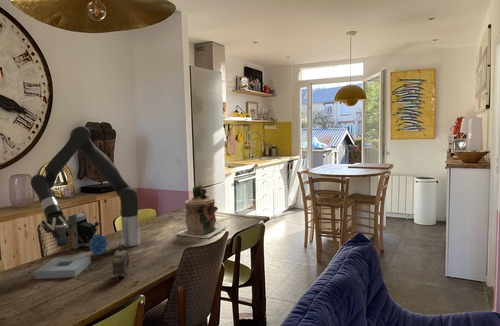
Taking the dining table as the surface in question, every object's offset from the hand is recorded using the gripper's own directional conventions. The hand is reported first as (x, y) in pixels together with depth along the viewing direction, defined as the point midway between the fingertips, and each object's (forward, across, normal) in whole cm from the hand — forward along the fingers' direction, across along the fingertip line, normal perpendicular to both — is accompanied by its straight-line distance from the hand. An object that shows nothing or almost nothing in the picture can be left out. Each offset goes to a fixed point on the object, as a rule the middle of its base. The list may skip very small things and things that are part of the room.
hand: (63, 236), depth 172 cm
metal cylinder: (+2, 0, +4) cm, 5 cm away
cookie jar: (+12, +83, +12) cm, 85 cm away
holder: (+11, 0, +13) cm, 17 cm away
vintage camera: (-10, +25, +34) cm, 43 cm away
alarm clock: (+32, +14, -8) cm, 36 cm away
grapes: (+4, +22, +20) cm, 30 cm away
